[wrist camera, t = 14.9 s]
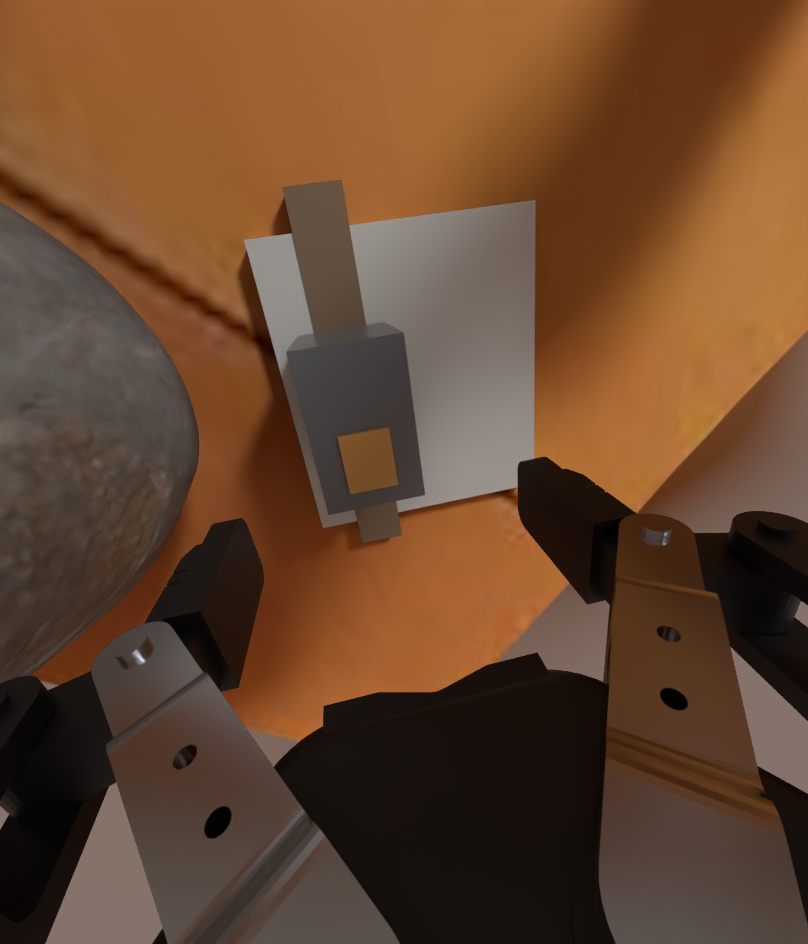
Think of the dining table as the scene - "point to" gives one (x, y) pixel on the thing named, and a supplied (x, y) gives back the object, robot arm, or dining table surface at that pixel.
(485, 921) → the robot arm
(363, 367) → the block
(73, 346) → the vase
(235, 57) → the dining table surface
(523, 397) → the board
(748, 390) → the dining table surface
